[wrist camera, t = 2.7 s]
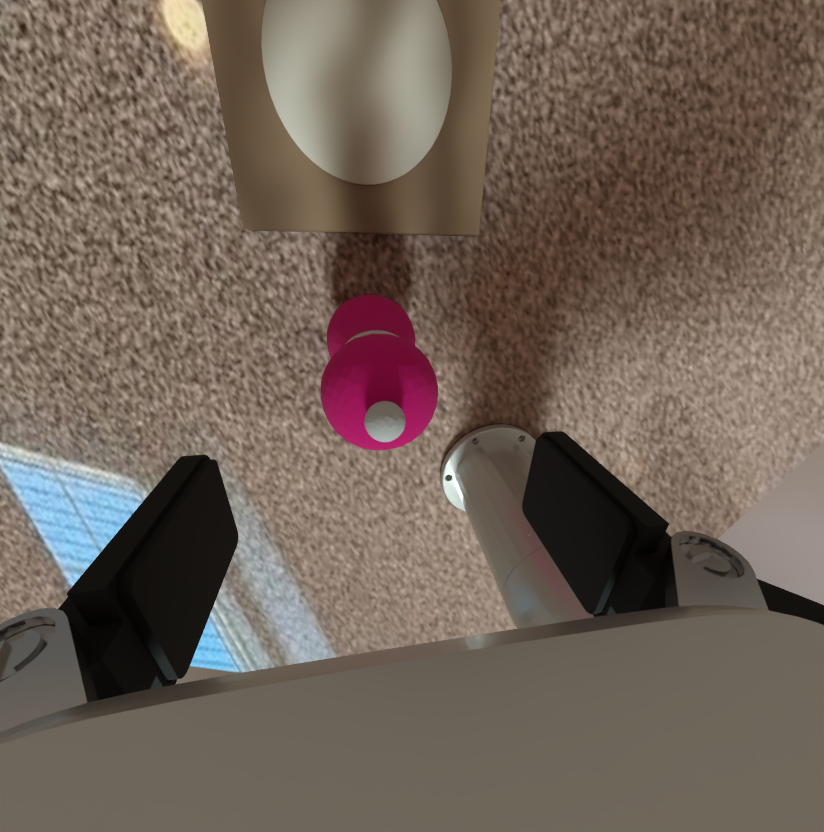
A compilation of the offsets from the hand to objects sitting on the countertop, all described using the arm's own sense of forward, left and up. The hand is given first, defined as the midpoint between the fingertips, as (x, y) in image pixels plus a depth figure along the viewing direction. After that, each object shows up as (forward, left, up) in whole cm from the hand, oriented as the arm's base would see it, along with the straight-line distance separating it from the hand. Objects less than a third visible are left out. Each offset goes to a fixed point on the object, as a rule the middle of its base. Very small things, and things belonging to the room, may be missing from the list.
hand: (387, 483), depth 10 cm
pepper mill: (0, 0, -24) cm, 24 cm away
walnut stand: (0, -17, -24) cm, 29 cm away
